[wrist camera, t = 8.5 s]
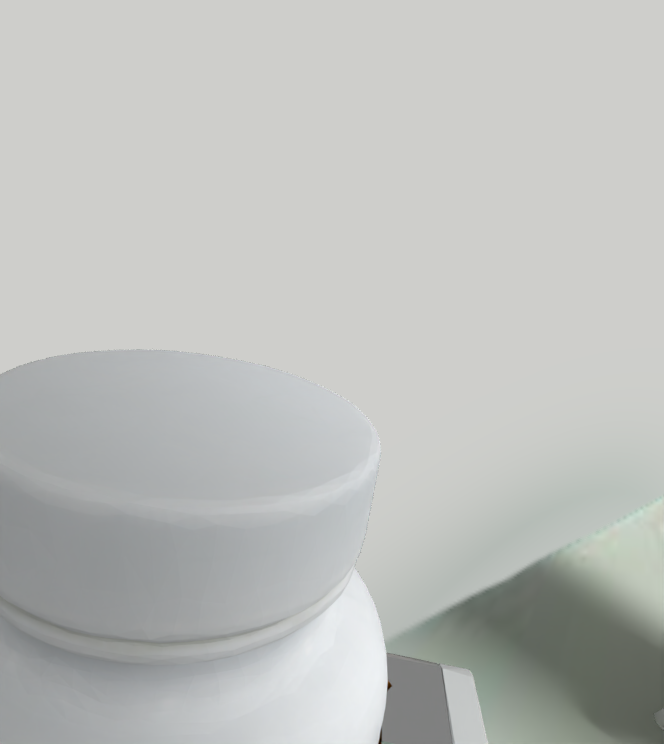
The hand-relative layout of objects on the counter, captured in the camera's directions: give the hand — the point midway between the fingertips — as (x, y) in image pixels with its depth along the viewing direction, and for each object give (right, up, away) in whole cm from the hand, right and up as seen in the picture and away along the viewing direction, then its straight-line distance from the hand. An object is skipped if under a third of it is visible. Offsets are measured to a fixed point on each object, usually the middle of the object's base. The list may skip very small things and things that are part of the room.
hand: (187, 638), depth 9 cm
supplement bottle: (-1, -7, +1) cm, 7 cm away
